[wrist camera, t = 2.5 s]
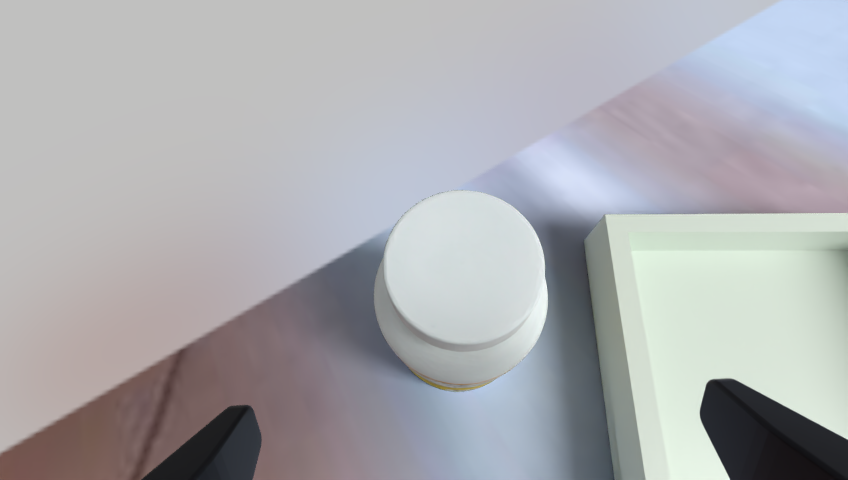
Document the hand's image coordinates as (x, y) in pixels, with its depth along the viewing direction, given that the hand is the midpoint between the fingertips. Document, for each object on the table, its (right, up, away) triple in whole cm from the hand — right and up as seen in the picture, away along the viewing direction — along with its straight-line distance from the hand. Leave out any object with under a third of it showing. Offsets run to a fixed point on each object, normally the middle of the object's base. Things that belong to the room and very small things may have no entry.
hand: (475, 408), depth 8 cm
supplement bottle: (0, -1, +11) cm, 11 cm away
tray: (+13, -3, +9) cm, 16 cm away
